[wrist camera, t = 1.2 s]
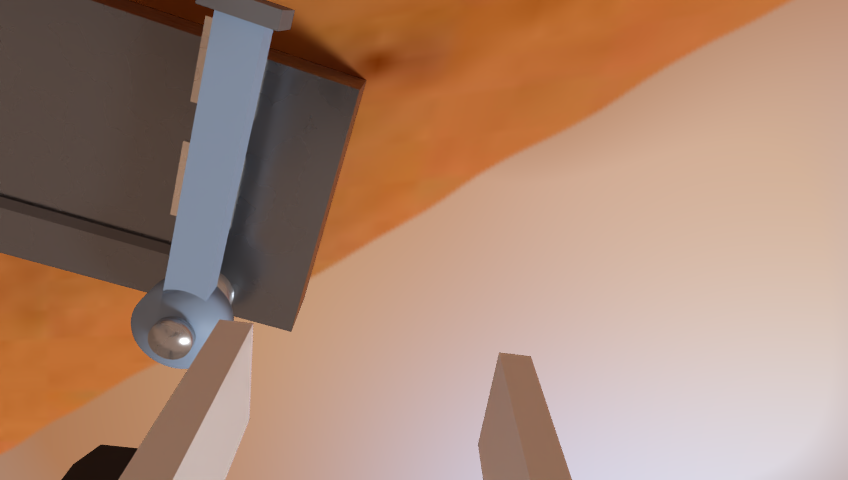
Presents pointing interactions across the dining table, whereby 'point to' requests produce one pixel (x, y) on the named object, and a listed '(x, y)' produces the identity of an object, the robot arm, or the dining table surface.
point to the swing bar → (212, 172)
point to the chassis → (158, 154)
